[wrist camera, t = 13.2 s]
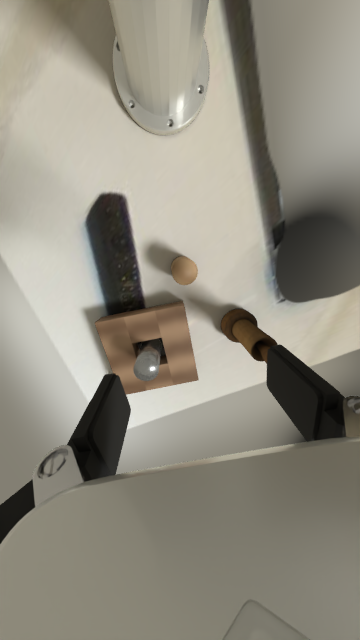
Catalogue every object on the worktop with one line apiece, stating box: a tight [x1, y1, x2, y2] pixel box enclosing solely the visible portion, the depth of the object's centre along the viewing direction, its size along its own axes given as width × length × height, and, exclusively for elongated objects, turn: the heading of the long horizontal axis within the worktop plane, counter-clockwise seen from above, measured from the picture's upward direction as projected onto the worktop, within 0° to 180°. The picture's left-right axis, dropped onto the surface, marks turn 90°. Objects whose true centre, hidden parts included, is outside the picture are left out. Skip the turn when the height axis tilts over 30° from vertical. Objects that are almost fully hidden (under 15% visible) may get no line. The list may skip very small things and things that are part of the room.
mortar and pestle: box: [221, 309, 277, 363], centre depth 27 cm, size 7×6×18 cm
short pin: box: [171, 256, 198, 285], centre depth 29 cm, size 4×4×5 cm
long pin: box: [133, 338, 162, 381], centre depth 32 cm, size 4×4×9 cm
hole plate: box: [95, 301, 198, 394], centre depth 35 cm, size 16×16×4 cm
